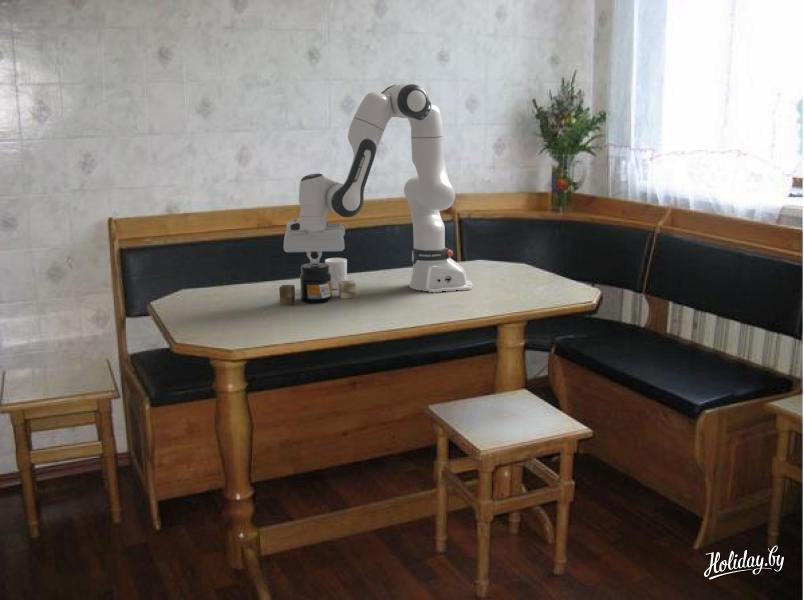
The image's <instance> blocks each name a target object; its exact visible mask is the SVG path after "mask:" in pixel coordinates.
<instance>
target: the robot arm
mask: <svg viewBox="0 0 804 600" xmlns="http://www.w3.org/2000/svg"><path fill="white" fill-rule="evenodd" d="M392 118H401V119H407V120H408V121H409V124H410V139H411V141H410V142H411V143H410V146H411V160H412V163H413V164H414V166H415V170H416V172H417V176H413V177H410V178H408V180H407V181H406V182H405V184H404V187H403V193H404V197H405V198H406V200H407V203H408V208H409V212H410V216H411V221H412V226H413V227H412V231H413V232H412V233H413V237H412V239H413V247H412V251H411V261H412V264H413V265H412V274H411V279H410V283H409V288H410V289H412V290H416V291H421V290H422V291H421V292H426V291H428V292H427V293H431V292H433V293H442V291H446V292H457V291H456V290H458V291H467V290H472V289H473V282H472V281H471V280H470V279H468V278H467V273H466V271H465V269H464V267H462V265H460V264H459V263H458V262H456V260H454V259H452V258H451V257H453V256H454V252H453V250H452V249H449V248H447V247H446V245H445V244H446V243H445V241H446V240H445V239H446V237H445V236H446V233H445V232H446V230H445V229H446V227H445V223H444V221H443V219H442V216H441V213H440V212H441V211H445V210H448V209H449V208H450V207H452V206H453V204H454V202H455V200H456V191H455V189H454V187H453V186H452V184H451V182H450V179H449V174H448V170H447V166H446V161H445V146H444V145H445V144H444V127H443V119H442V114H441V110H440V109H439V107H438V106H437V105H435V104H433V103H432V102H431V101H430V99H429V95H428V93H427V92H426V91H425V89H424V88H423V87H422V86H420V85H418V84H415V83H400V84H393V85H390V86H388V87H386V88H385V89H384V90H383V91H382V92H378V91H370V92H368V93H367V94H366V95H365V96H364V98H363V100H362V101H361V103H360V104H359V106H358V107H357V110H356V111H355V114H354V116H353V118H352V120H351V122H350V126H349V130H348V133H347V139H348V143H349V145H350V146H351V149H352V152H353V158H352V163H351V165H350V167H349V171H348V173H347V176H346V178H345V181H344V183H341V182H338V181H334V180H332V179H330V178H328V177H327V176H324V175H323V174H322V173H311V174H306V175H305V176H302V178H301V179H300V182H299V186H298V187H299V189H298V203H299V206H300V211H299V218H296V219H294V220H290V221H289V222H287V223H286V231H285V233H284V238H283V251H284V252H285V253H306V256H307V258H308V259H309V261H310V265H319V263H320V259H321V257H322V256H323V252H343V251H344V250H345V239H344V236H345V235H346V228H345V226H344V225H343V224H341V223H340V222H336V223H333V222H331V223H330V222H328V221H327V220H328V219H327V218H328V217H327V213H328V212H331V211H332V212H334V213H336V214H337V215H338V216H340V217H342V218H346V219H347V218H353V217H355V216H356V215H358V214H359V213H360V212H361V210H362V208H363V206H364V199H365V198H364V193H365V187H366V184H367V182H368V179H369V176H370V173H371V169H372V166H373V164H374V161H375V158H376V154H377V150H378V147H379V144H380V142H381V140H382V137H383V135H384V132H385V131H386V127H387V124H388V123H389V121H390V120H391V119H392ZM316 252H317V258H312V256H311V255H312V253H316Z"/></svg>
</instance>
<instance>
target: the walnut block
mask: <svg viewBox="0 0 804 600" xmlns="http://www.w3.org/2000/svg"><path fill="white" fill-rule="evenodd" d="M278 288H279V289H278V290H279V306H293V305H294V304H295V303H296V291H295V284H282V285H281V286H279V287H278Z"/></svg>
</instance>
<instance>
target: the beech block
mask: <svg viewBox="0 0 804 600" xmlns="http://www.w3.org/2000/svg"><path fill="white" fill-rule="evenodd" d="M338 284H339V289H338V296H339V298H340V299H341V298H342V300H343V298H344V299H354V298H355V297H356V298H357V291H356V290H357V288H356V287H357V285H356V284H357V283H356V282H355V281H354V280H346V281H338Z"/></svg>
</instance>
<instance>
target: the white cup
mask: <svg viewBox="0 0 804 600" xmlns="http://www.w3.org/2000/svg"><path fill="white" fill-rule="evenodd" d="M324 263H326V264H328V265H329V268H330V271H329V273H330V274H331V290H339V284H338V281H347V276H348V275H347V274H348V273H347V272H348V259H347V258H344V257H331V258H326V259H324Z"/></svg>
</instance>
